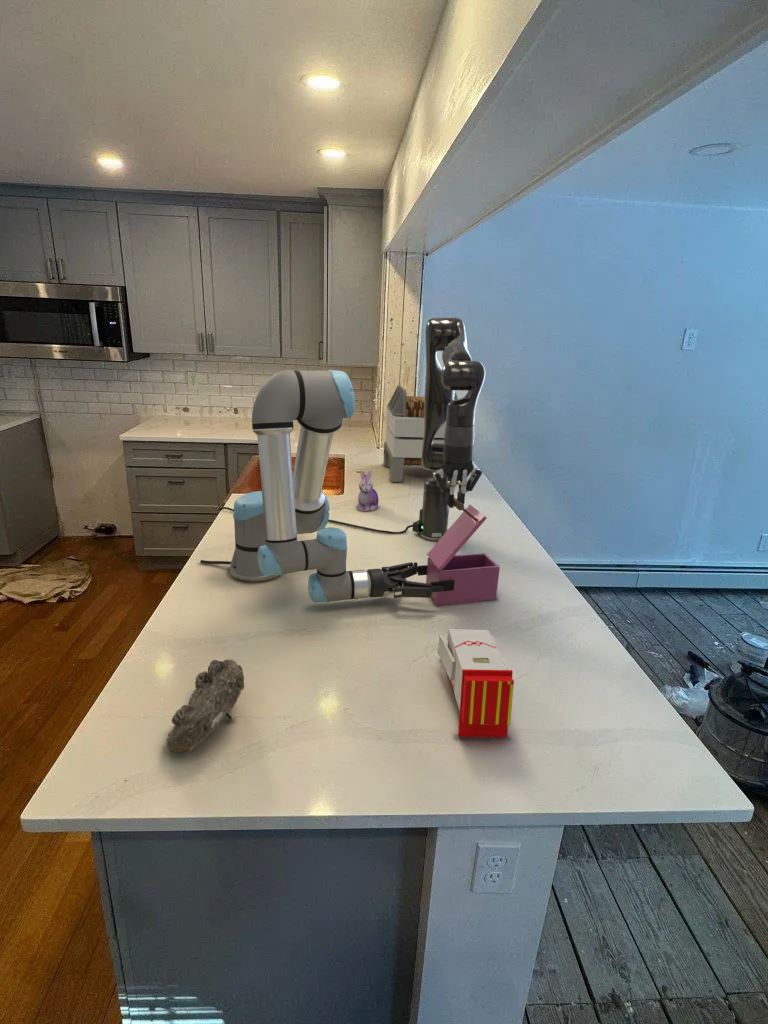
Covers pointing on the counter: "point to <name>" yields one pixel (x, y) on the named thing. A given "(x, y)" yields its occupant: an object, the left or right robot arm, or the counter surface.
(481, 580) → the chest
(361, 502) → the figurine
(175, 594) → the counter surface
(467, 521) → the lid
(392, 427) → the grey slatted box
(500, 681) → the toy
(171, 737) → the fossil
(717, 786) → the counter surface
